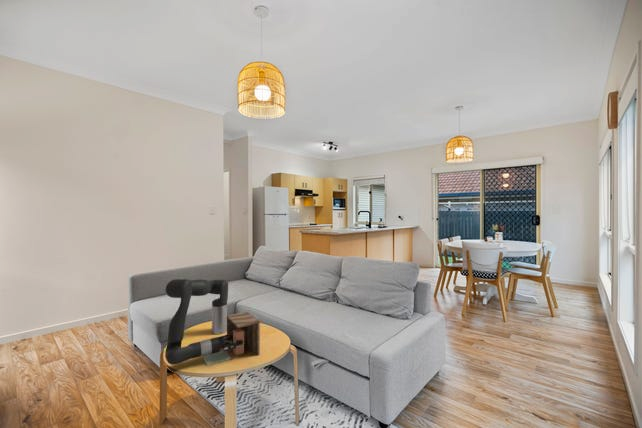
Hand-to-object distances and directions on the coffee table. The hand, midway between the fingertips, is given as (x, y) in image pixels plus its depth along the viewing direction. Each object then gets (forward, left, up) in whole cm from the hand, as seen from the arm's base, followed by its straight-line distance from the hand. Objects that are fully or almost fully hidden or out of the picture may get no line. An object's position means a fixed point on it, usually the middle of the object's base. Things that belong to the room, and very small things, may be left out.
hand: (240, 339), depth 160 cm
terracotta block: (0, -1, -7) cm, 7 cm away
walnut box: (-1, +2, -7) cm, 7 cm away
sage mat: (-1, -12, -7) cm, 14 cm away
